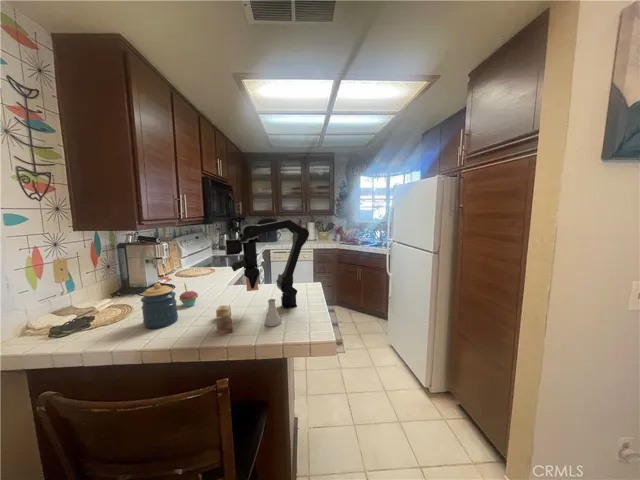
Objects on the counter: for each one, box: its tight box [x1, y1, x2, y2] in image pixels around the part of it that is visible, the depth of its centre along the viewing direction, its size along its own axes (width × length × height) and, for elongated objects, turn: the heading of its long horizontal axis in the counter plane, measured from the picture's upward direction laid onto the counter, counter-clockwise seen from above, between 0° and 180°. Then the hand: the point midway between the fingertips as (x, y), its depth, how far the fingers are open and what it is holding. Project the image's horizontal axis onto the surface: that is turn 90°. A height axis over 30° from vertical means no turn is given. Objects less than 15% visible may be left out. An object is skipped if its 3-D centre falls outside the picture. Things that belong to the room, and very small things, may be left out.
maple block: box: [215, 304, 232, 319], centre depth 118 cm, size 5×5×5 cm
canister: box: [140, 282, 179, 330], centre depth 115 cm, size 13×13×18 cm
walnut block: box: [215, 316, 234, 337], centre depth 105 cm, size 5×5×5 cm
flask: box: [264, 298, 282, 327], centre depth 111 cm, size 7×7×10 cm
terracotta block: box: [245, 277, 259, 292], centre depth 121 cm, size 5×5×5 cm
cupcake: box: [178, 281, 199, 308], centre depth 135 cm, size 9×8×12 cm
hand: (252, 286), depth 121 cm, fingers closed on terracotta block, 5 cm apart
